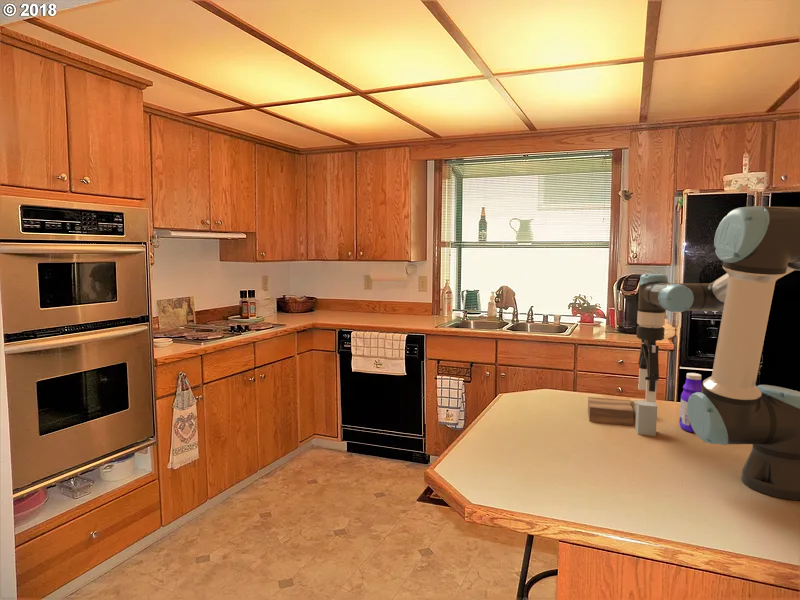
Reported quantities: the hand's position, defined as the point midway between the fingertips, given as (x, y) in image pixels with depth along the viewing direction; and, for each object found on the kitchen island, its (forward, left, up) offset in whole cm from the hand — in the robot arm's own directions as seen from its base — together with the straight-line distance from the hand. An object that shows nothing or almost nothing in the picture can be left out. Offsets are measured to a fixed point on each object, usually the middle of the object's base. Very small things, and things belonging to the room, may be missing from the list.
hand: (646, 395), depth 167 cm
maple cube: (+18, -1, -11) cm, 21 cm away
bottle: (+7, -14, -12) cm, 19 cm away
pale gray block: (0, 0, -11) cm, 11 cm away
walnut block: (+13, +9, -12) cm, 19 cm away
